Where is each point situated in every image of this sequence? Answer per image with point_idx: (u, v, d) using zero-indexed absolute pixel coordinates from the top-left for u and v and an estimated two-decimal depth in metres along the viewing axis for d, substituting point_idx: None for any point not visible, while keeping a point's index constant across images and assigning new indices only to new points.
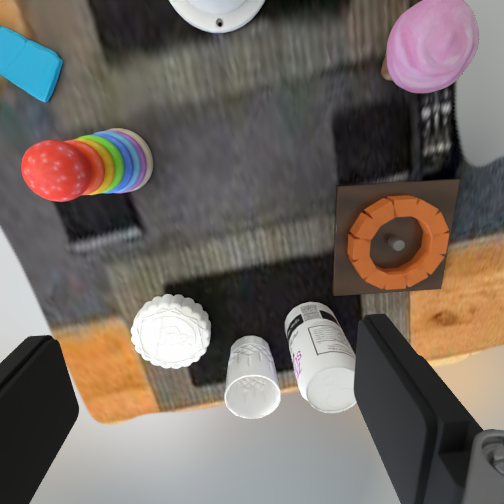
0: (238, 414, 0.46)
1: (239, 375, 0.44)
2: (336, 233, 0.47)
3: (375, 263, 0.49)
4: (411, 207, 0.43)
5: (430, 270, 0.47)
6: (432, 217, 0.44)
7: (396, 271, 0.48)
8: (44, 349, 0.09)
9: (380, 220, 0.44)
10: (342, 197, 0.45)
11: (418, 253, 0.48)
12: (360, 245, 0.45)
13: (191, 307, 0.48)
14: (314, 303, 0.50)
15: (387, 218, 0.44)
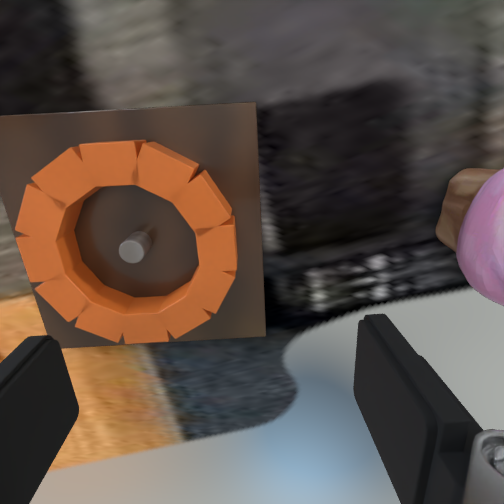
0: None
1: None
2: (144, 109, 0.20)
3: (83, 212, 0.22)
4: (218, 262, 0.21)
5: (82, 323, 0.22)
6: (198, 306, 0.22)
7: (70, 257, 0.21)
8: (44, 349, 0.09)
9: (186, 200, 0.19)
10: (230, 116, 0.20)
11: (119, 295, 0.23)
12: (120, 160, 0.18)
13: None
14: None
15: (191, 215, 0.20)
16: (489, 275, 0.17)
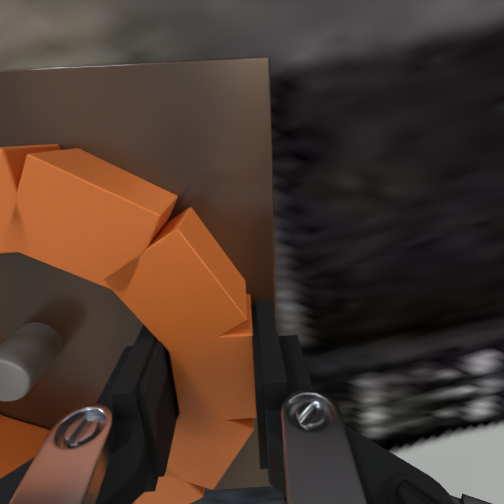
0: None
1: None
2: (16, 73, 0.09)
3: None
4: (218, 404, 0.10)
5: None
6: (177, 477, 0.11)
7: None
8: None
9: (144, 286, 0.08)
10: (211, 89, 0.09)
11: (32, 436, 0.12)
12: None
13: None
14: None
15: (158, 317, 0.09)
16: None
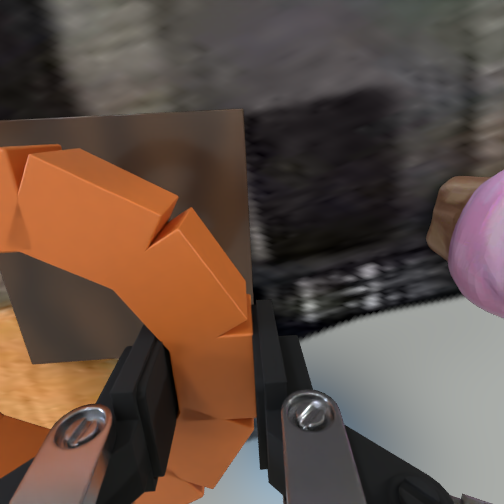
0: None
1: None
2: (128, 115, 0.19)
3: None
4: (218, 403, 0.10)
5: None
6: (177, 477, 0.11)
7: None
8: None
9: (144, 286, 0.08)
10: (216, 123, 0.19)
11: (32, 435, 0.12)
12: None
13: None
14: None
15: (158, 317, 0.09)
16: (482, 285, 0.16)
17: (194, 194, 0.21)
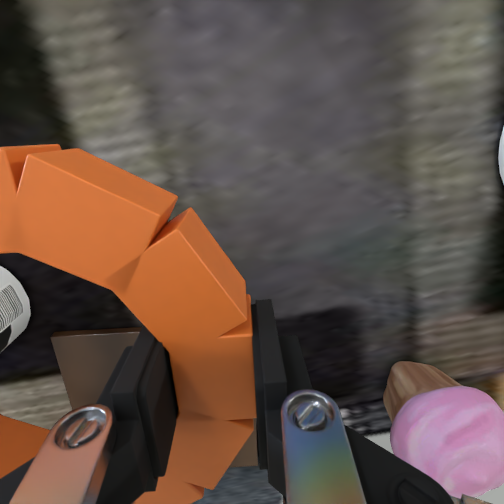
0: None
1: None
2: None
3: None
4: (218, 404, 0.10)
5: None
6: (177, 477, 0.11)
7: None
8: None
9: (144, 286, 0.08)
10: None
11: (31, 436, 0.12)
12: None
13: None
14: (26, 308, 0.26)
15: (158, 317, 0.09)
16: None
17: None
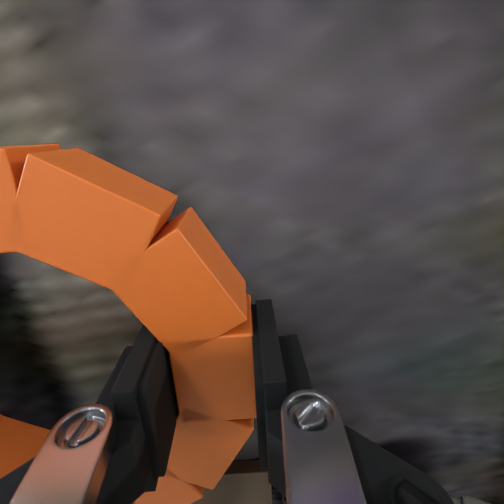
0: None
1: None
2: None
3: None
4: (218, 404, 0.10)
5: None
6: (177, 477, 0.11)
7: None
8: None
9: (144, 286, 0.08)
10: (243, 482, 0.19)
11: (31, 436, 0.12)
12: None
13: None
14: None
15: (158, 317, 0.09)
16: None
17: None
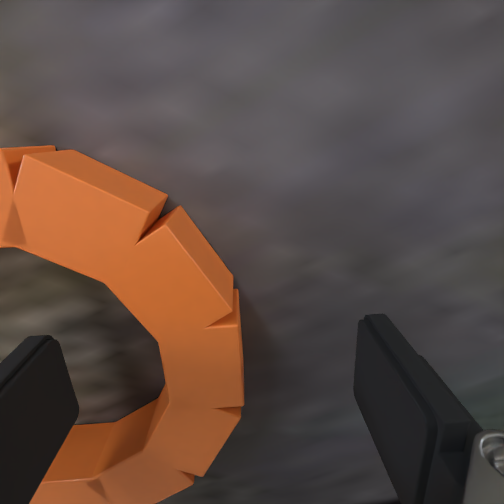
0: None
1: None
2: None
3: None
4: (206, 392, 0.10)
5: None
6: (168, 465, 0.11)
7: None
8: (44, 349, 0.09)
9: (134, 279, 0.09)
10: None
11: None
12: None
13: None
14: None
15: (148, 309, 0.09)
16: None
17: None
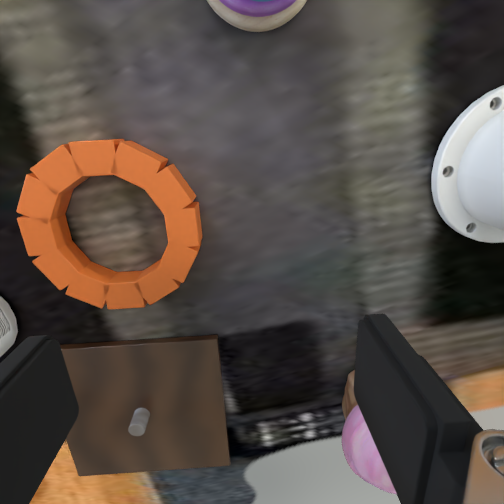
0: None
1: None
2: (145, 344, 0.30)
3: (104, 398, 0.32)
4: (183, 238, 0.25)
5: (72, 291, 0.26)
6: (168, 276, 0.26)
7: (61, 236, 0.26)
8: (44, 349, 0.09)
9: (155, 187, 0.24)
10: (200, 346, 0.31)
11: (103, 269, 0.28)
12: (101, 155, 0.23)
13: None
14: (13, 326, 0.29)
15: (160, 200, 0.24)
16: (353, 468, 0.28)
17: (187, 382, 0.32)
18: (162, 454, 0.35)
